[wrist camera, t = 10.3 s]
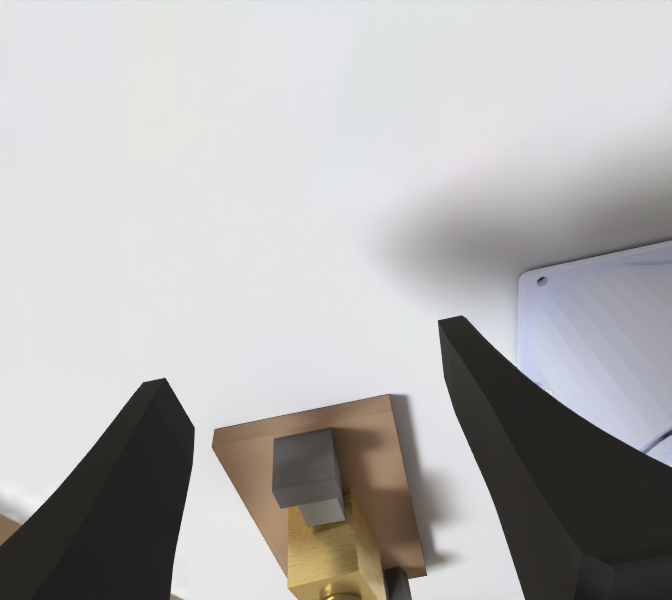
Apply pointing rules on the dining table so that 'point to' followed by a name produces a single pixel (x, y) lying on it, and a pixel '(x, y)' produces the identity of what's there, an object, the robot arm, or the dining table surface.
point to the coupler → (335, 556)
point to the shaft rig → (327, 479)
